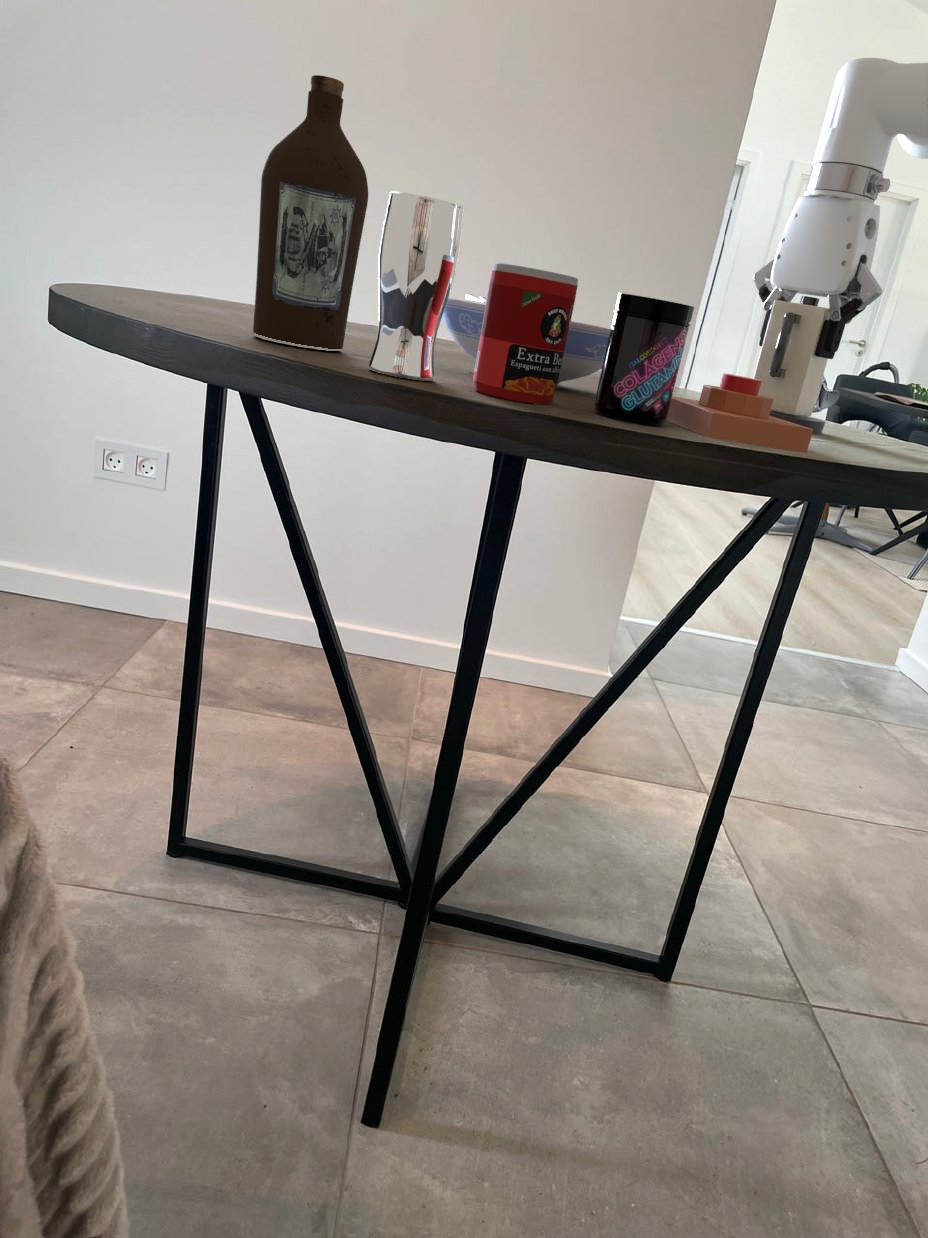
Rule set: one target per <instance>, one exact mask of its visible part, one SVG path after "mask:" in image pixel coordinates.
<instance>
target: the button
mask: <svg viewBox="0 0 928 1238" xmlns="http://www.w3.org/2000/svg"><path fill="white" fill-rule="evenodd" d="M761 383H762V381H761V380H757V379H753V377H747V376H741V375H736V374H731V373H726V372H725V373H722V377H721V381H720V383H719V387H720V389H724V390H728V391H733V392H738V393H743V394H748V395H754V396H758V394H759V390H760V387H761Z"/></svg>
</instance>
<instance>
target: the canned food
mask: <svg viewBox="0 0 928 1238" xmlns="http://www.w3.org/2000/svg"><path fill="white" fill-rule="evenodd" d="M578 283H579V278H577V277H575V276H573V275H568V274H563V273H559V272H555V271H549V270H543V269H538V268H533V267H529V266H521V265H516V264H509V263H502V262H495V263H493V266H492V269H491V273H490V280H489V283H488V289H487V295H486V299H487V300H486V303H485V305H486V306H485V312H484V318H483V324H482V329H481V335H480V341H479V347H478V353H477V359H476V360H475V366H474V370H473V377H472V382H473V389H474V391H475V392H477V391H478V392H477V393H479V394H483V395H486V396H490V397H494V398H498V399H502V400H508V401H512V402H519V403H524V404H530V405H551V404H552V402H553V400H554V398H555V396H556V394H557V388H558V385H559V384H558V379H559V374H560V369H561V365H562V360H563V355H564V350H565V345H566V341H567V336H568V331H569V326H570V322H571V321H572V317H573V311H574V307H575V302H576V298H577V297H576V295H577V292H578V287H579V285H578Z"/></svg>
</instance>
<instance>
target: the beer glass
mask: <svg viewBox="0 0 928 1238" xmlns="http://www.w3.org/2000/svg"><path fill="white" fill-rule="evenodd" d="M389 193H390V194H389V199H388V204H387V208H386V214H385V219H384V221H383V227H382V234H381V239H380V247H379V253H378V305H379V306H378V314H379V315H378V329H377V335H376V340H375V344H374V347H373V350H372V354H371V357H370V359H369V363H368V368H369V369H371V370H374V371H376V372H380V373H383V374H386V375H391V376H396V377H401V378H407V379H413V380H412V381H414V380H419V381H418V382H423V381H429V382H430V381H432V382H434V380H435V347H436V340H437V336H438V332H439V327H440V326H441V325H440V324H441V322H442V319H443V317H442V315H443V312H444V310H445V307H446V304H447V301H448V298H450V294H451V291H452V288H453V284H454V281H455V277H456V273H457V269H458V264H459V259H460V252H461V245H462V244H461V243H462V234H463V222H464V211H465V207H464V206H463V205H461V204H458V203H455V202H452V201H449V200H444V199H440V198H436V197H431V196H426V195H420V194H414V193H409V192H408V193H407V192H400V191H399V192H398V191H391V192H389ZM369 369H368V370H369ZM386 375H385V376H386ZM391 376H390V377H391ZM396 377H395V378H396ZM401 378H400V379H401ZM407 379H406V380H407ZM429 382H428V383H429Z"/></svg>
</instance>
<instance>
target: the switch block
mask: <svg viewBox="0 0 928 1238" xmlns="http://www.w3.org/2000/svg"><path fill="white" fill-rule="evenodd" d="M773 400H774V399H773V398H771V397H767V396H763V395H759V394H758V396H754V395H748V394H743V393H738V392H733V391H728V390H724V389H720V386H719V385H718V386H717V385H710V384H703V386H702V390H701V393H700V397H699V400H696V399H691V398H685V397H680V396H679V397H678V396H674V395H672V399H671V403H670V408H669V412H668V416H667V420H666V421H667V422H669V423H672V424H674V425H677V426H679V427H682V428H684V429H687V430H688V431H689V430H690V431H692V432H694V433H696V434H699V435H701V436H705V437H707V438H713V439H719V440H724V441H730V442H737V443H743V444H744V443H745V444H748V445H755V444H756V445H755V446H761V445H762V447H767V446H768V447H767V448H774V449H780V450H786V451H791V452H792V451H793V452H798V451H799V453H804V452H805V454H807V452H808V449H809V446H810V443H811V439H812V436H813V434H812V433H813V429H811V428H808V427H804V426H801V425H798V424H795V423H792V422H788V421H785V420H782V419H779V418H775V417H772V416H769V414H770V410H771V407H772V403H773Z"/></svg>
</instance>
